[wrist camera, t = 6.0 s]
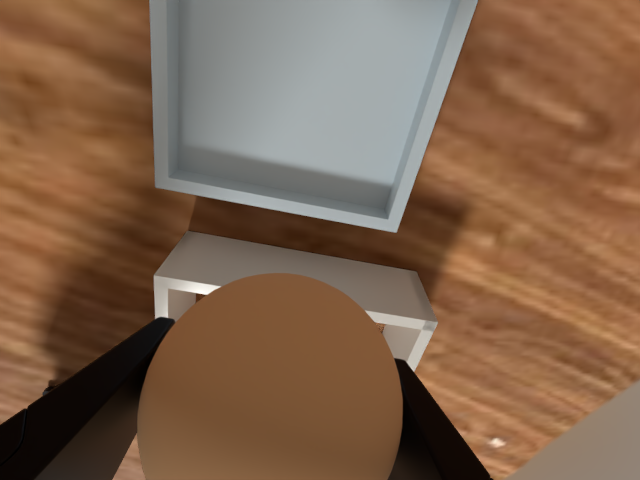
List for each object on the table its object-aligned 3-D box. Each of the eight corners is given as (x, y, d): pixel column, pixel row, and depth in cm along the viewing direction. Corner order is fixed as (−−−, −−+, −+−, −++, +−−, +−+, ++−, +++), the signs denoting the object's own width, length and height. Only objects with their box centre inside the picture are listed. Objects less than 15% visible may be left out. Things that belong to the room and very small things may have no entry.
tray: (170, 174, 20) (155, 187, 18) (168, -140, 14) (144, -170, 12) (389, 216, 22) (396, 232, 20) (480, -56, 15) (503, -71, 13)
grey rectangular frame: (184, 354, 28) (158, 412, 23) (187, 230, 22) (153, 275, 18) (371, 382, 29) (379, 441, 25) (416, 271, 23) (437, 322, 19)
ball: (191, 360, 12) (88, 596, 7) (198, 209, 9) (29, 424, 4) (355, 387, 13) (372, 626, 8) (410, 253, 10) (503, 492, 5)
